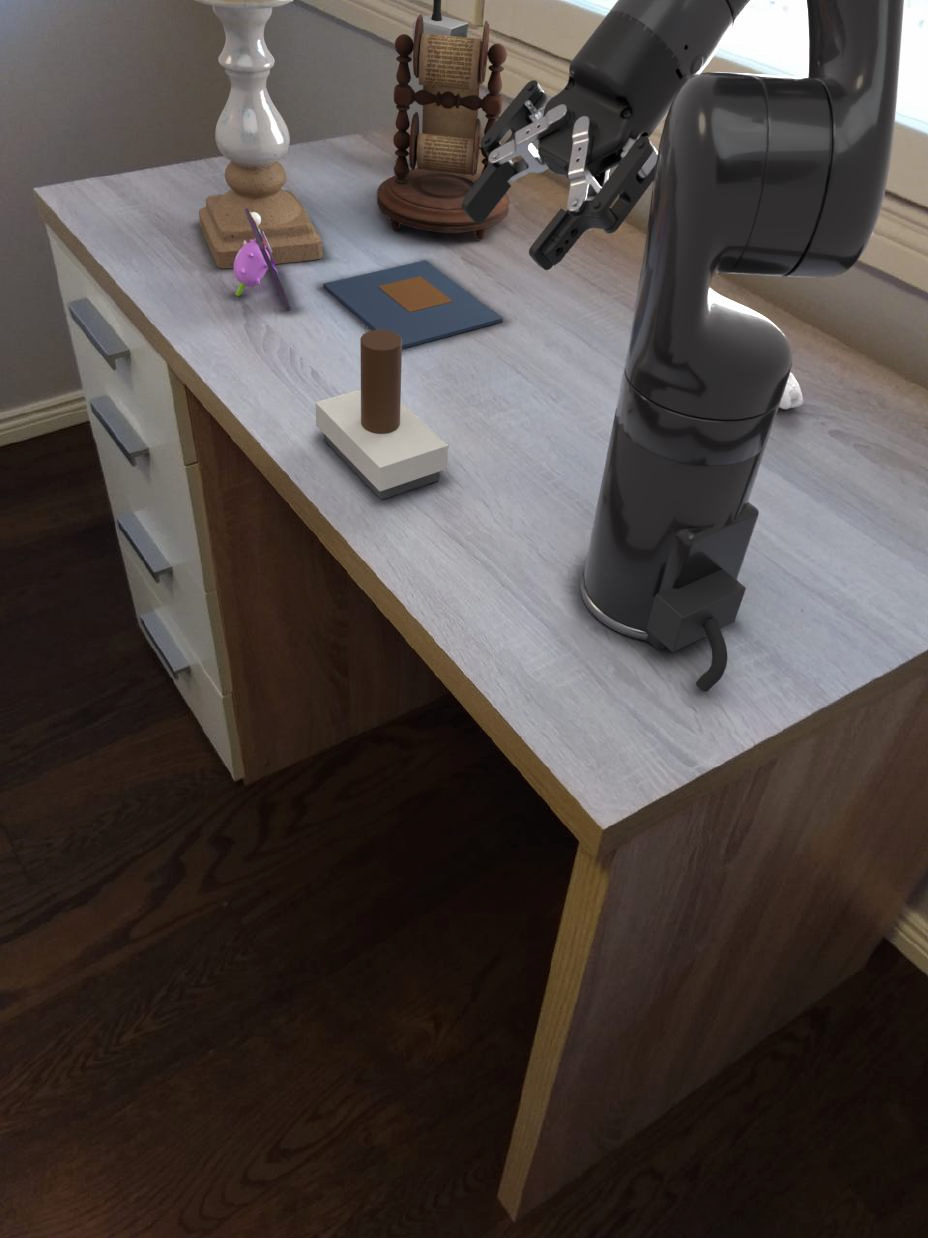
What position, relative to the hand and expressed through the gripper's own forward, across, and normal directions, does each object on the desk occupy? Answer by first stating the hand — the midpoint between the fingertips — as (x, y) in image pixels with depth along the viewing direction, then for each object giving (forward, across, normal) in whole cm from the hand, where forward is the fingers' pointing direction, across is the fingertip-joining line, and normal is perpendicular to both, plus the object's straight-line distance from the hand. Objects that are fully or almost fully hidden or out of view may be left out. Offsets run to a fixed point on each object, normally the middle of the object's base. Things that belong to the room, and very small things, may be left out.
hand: (502, 238), depth 74 cm
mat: (+7, -21, +15) cm, 27 cm away
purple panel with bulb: (+16, -30, +7) cm, 35 cm away
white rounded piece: (-7, +8, +30) cm, 32 cm away
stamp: (+18, 0, +4) cm, 19 cm away
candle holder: (+12, -40, +11) cm, 43 cm away
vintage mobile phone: (-7, -48, +30) cm, 57 cm away
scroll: (-2, -37, +26) cm, 45 cm away
